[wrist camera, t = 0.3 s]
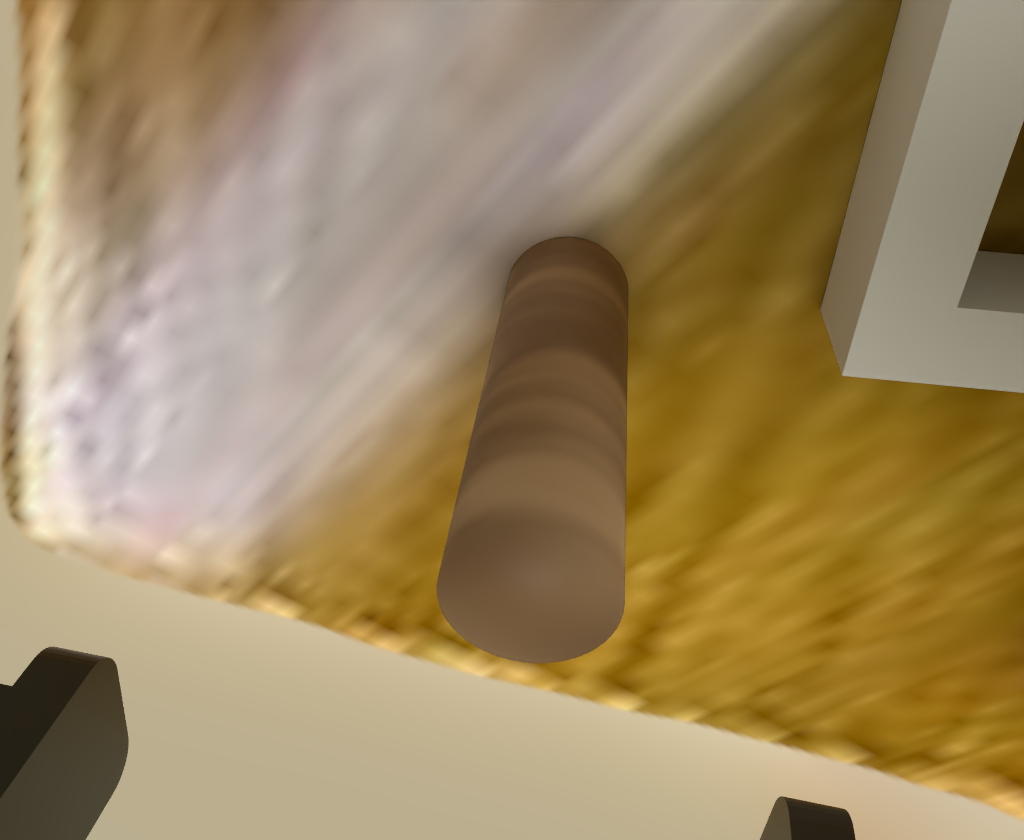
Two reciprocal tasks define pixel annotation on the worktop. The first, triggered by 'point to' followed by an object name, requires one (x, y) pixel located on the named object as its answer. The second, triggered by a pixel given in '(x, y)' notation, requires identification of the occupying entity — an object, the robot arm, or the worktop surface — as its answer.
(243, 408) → the worktop surface
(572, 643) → the peg
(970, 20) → the socket stand
